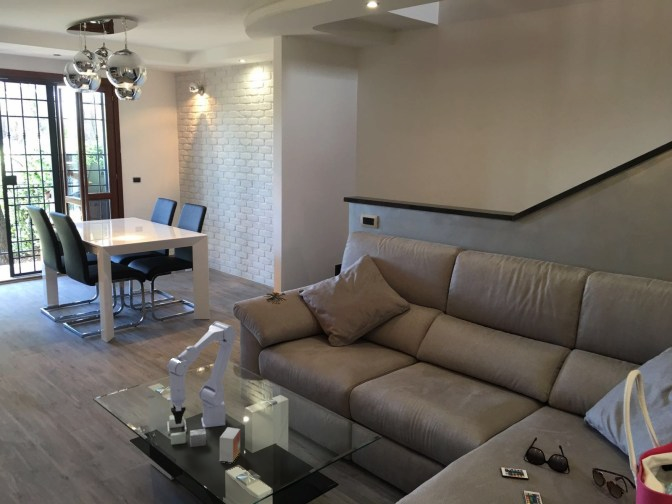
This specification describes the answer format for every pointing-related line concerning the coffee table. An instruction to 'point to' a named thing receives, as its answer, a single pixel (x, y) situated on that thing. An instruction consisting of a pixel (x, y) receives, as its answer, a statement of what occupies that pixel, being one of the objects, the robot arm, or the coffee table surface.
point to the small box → (229, 444)
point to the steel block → (197, 437)
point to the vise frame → (178, 435)
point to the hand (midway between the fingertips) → (178, 418)
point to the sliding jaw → (172, 422)
